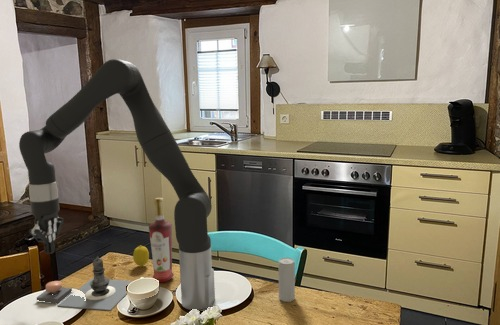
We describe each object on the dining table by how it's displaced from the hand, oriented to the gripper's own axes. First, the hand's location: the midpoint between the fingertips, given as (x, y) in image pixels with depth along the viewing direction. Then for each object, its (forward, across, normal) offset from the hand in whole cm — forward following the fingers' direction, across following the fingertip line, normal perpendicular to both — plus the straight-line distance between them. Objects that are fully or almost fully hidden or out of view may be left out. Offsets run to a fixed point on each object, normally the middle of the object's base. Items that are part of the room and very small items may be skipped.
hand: (50, 252), depth 120 cm
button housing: (+14, 0, 0) cm, 14 cm away
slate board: (+14, +4, -13) cm, 20 cm away
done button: (+13, 0, 0) cm, 13 cm away
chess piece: (+14, +4, -13) cm, 20 cm away
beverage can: (+14, +9, -71) cm, 73 cm away
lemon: (+15, +25, -17) cm, 34 cm away
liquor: (+15, +16, -29) cm, 36 cm away
